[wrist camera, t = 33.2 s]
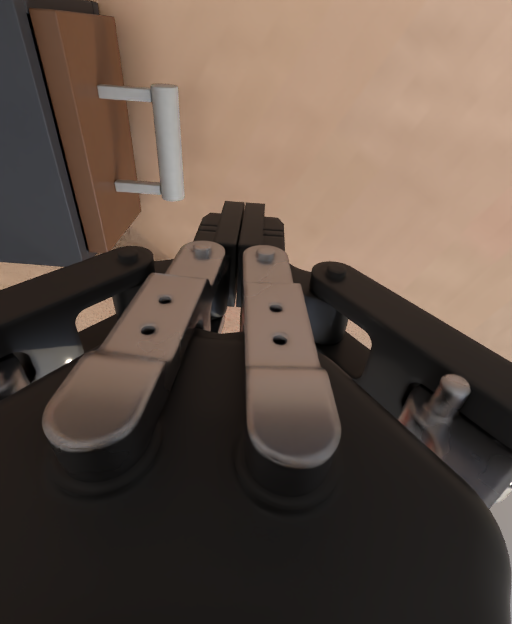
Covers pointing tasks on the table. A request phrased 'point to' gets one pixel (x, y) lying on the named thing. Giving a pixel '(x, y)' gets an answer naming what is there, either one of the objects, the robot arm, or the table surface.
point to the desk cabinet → (33, 150)
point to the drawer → (102, 122)
